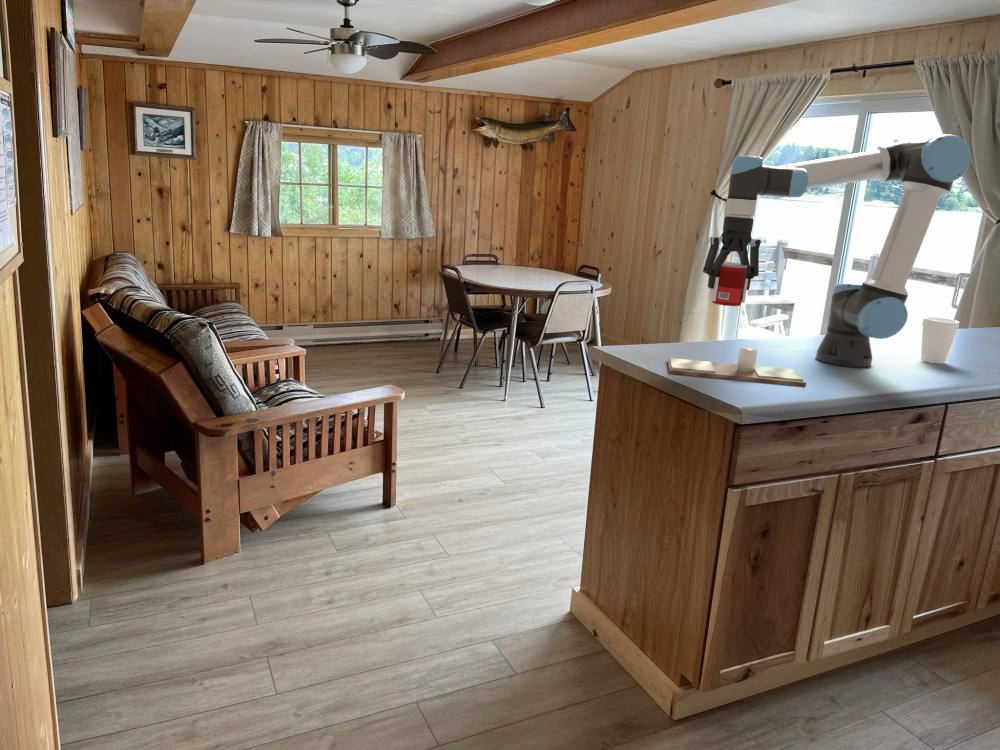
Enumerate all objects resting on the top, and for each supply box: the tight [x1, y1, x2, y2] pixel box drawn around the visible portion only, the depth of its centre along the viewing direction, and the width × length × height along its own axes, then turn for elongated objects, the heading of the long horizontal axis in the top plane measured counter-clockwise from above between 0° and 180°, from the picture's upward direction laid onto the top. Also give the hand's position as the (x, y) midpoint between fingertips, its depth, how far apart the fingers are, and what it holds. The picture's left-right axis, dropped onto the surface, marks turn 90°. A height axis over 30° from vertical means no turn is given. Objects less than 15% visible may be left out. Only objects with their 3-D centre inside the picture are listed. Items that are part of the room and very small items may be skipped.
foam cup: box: [920, 316, 960, 364], centre depth 226 cm, size 10×9×13 cm
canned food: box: [711, 261, 747, 307], centre depth 202 cm, size 8×8×11 cm
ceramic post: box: [737, 346, 758, 373], centre depth 197 cm, size 4×4×6 cm
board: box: [667, 357, 807, 387], centre depth 199 cm, size 34×14×1 cm, turn 80°
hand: (726, 301), depth 204 cm, fingers closed on canned food, 8 cm apart
